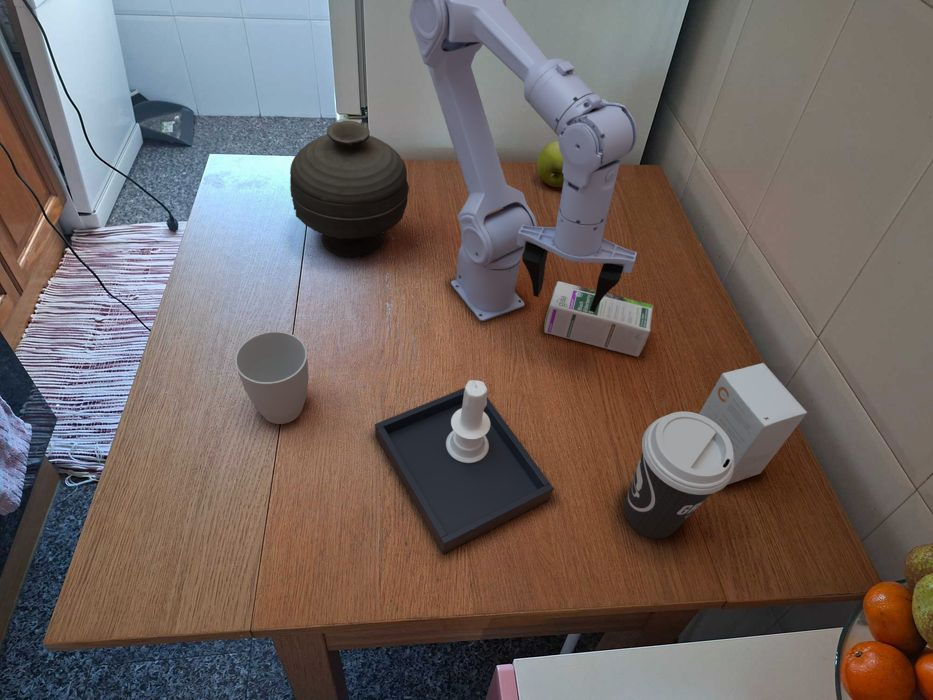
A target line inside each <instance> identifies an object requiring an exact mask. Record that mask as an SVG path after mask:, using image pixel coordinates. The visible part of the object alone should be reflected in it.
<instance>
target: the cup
mask: <svg viewBox="0 0 933 700" xmlns="http://www.w3.org/2000/svg"><path fill="white" fill-rule="evenodd" d="M234 364H235V368H236V371H237V373H238V377H239V379H240V382H241V384H242V386H243V389H244V392H245V394H247V396H248V398H249V400H250V401H251V403H252V405H253V406H254V408H255V409H256V411H258V413H259V414H260V415H261V416H263V418H264V419H265V420H266V421H268V422H269V423H272V424H275V425H284V424H288V423H291V422H293V421H295V420H296V419H297V418H298V417H299V416H300V415H301V413H302V411H303V409H304V406H305V403H306V400H307V395H308V387H309V386H308V384H309V363H308V351H307V347H306V345H305V343H304V342H303V341H302V340H301V338H299V337H298V336H296V335H294V334H292V333H290V332H285V331H280V330H279V331H278V330H272V331H265V332H261V333H258V334H255V335H253V336H251V337H249V338H248V339H246V340H245V341H244V342H243V343H242V344H241V345H240V346H239V348H238V349H237V351H236V354H235V356H234Z"/></svg>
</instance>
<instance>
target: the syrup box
mask: <svg viewBox="0 0 933 700" xmlns="http://www.w3.org/2000/svg"><path fill="white" fill-rule="evenodd" d="M595 293H596V289H592V288H588V287H585V286H580V285H576V284H572V283H567V282H564V281H560V280H558V281H557V282H556V284H555V285H554V289H553V291H552V294H551V299H550V302H549V304H548V308H547V312H546V315H545V319H544V325H543V332H544V333H545V334H549V335H551V336H555V337H559V338H564V339H568V340H571V341H575V342H579V343H582V344H587V345H590V346H594V347H599V348H602V349H606V350H610V351H613V352H618V353H620V354H621V353H622V354H625V355H629V356H632V357H639V356H640V355H641V353H642V351H643V349H644V347H645V345H646V342H647V341H648V338H649V335H650V333H651V325H652V317H653V310H654V305H653V304H652V303H649V302H648V303H647V302H644V301H639V300H636V299H631V298H627V297H623V296H621V295H615V294H612V293H609V292H607V293H606V295H605V296H604V297H603V298H602V300H601V301H600V303H599V304H598V306H597V308H596V311H595V312H592V311H590V308H591V304H592V302H593V299H594V296H595Z"/></svg>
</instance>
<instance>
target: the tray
mask: <svg viewBox="0 0 933 700" xmlns="http://www.w3.org/2000/svg"><path fill="white" fill-rule="evenodd" d="M464 391H465V387H464V388H463V387H462V388H460V389H458V390H456V391H453V392H450V393H448V394H446V395H444V396H441V397H439V398H436V399H434V400H431V401H429V402H426V403H424V404H421V405H418V406H416V407H414V408H410V409H409V410H406V411H404V412H401V413H399V414H396V415H394V416H392V417H389V418H387V419H383V420H381V421H378V422H377V423H374V435H375V438H376V441H377V442H378V443H379V445H380V447H381V449H382V450H383V452H384V454H385V455H386V457H387V459H388V461H389V462H390V464H391V466H392V467H393V470H394V471H395V473H396V475H397V477H398V478H399V480H400V482H401V484H402V485H403V487H404V489H405V491H406V492H407V494H408V496H409V497H410V499H411V501H412V503H413V505H414V506H415V508H416V510H417V512H418V513H419V515H420V517H421V518H422V520H423V522H424V524H425V526H426V527H427V529H428V530H429V532H430V535H431V536H432V537H433V539H434V541H435V543H436V545H437V546H438V548H439V550H440V551H441V554H442V555H444V554H446V553H448V552H449V551H452V550H454V549H455V548H458V547H460V546H461V545H464V544H466V543H467V542H469V541H471V540H474V539H475V538H477V537H479V536H481V535H483V534H485V533H487V532H489V531H491V530H493V529H495V528H497V527H499V526H501V525H502V524H504V523H507V522H508V521H510V520H512V519H514V518H517V517H518V516H520V515H522V514H524V513H526V512H529V511H530V510H532V509H534V508H536V507H537V506H539V505H543V504H544V503H546V502H547V501H549V500H551V497H552V494H553V491H554V486H553V485H552V484H551V483H550V481H549V479H547V477H546V476H545V474H544V473H543V472H542V470H541V469H540V467H539V466H538V464H537V463H536V462H535V460H534V459H533V458H532V456H531V455H530V454H529V452H528V451H527V450H526V448H525V447H524V446H523V444H522V443H521V441H520V440H519V439H518V437H517V436H516V435H515V433H514V432H513V430H512V428H510V426H509V424H507V422H506V421H505V420H504V418H503V417H502V415H501V414H500V413H499V411H498V410H497V409H496V408H495V406H494V404H493V403H492V402H491V401H490V399H489V398H488V397H487V405H486V407H485V408H484V412H485V413H486V414H487V416H488V417H489V419H490V429H489V431H488V432H487V434H486V435H485V436H486V437H487V439H488V443H489V449H488V452H487V454H486V455H485V457H484V458H482V459H481V460H479V461H477V462H474V463H463V462H460V461H458V460H456V459H454V458H453V457H452V456H451V455H450V454H449V452H448V451H447V448H446V440H447V437H448V435H449V434H450V433H451V432H452V431H453V428H452V426H451V419H452V416H453V414H454V413H455V412H456V411H457V410H459V409H461V408H462V404H463V397H464Z"/></svg>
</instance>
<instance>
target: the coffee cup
mask: <svg viewBox="0 0 933 700" xmlns="http://www.w3.org/2000/svg"><path fill="white" fill-rule="evenodd" d="M641 451H642V452H641V454H640V457H639V461H638V463H637V466H636V468H635V472H634V474H633V477H632V480H631V483H630V486H629V488H628V491H627V494H626V497H625V500H624V504H623V512H624V517H625V520H626V521H627V523H628V524H629V525H630V527H631V528H632V529H633V530H634V531H635V532H636V533H638V534H640V535H641V536H643V537H646V538H648V539H652V540H661V539H666V538H668V537H671V536H672V535H673V534H674V533H675V532H676V531H677V530H678V528H679V527H681V526H682V525H683V524H684V523H685V521H687V519H689V517H690V516H691V515H692V514H693V513H694V512H695V511H696V510H697V509H698V508H699V507H700V506H701V505H702V504H703V503H704V502H705V501H706V500H707V499H708V498H709V497H710V496H711V495H712V494H714V493H717V492H720V491H722V490H723V489H724V488H726V487H727V484H728V483H729V481H730V480H731V478H732V475H733V471H734V454H733V447H732V444H731V441H730V439H729V437H728V436H727V434H726V433H725V432H724V430H723V429H722V428H721V427H720V426H719V425H717V424H716V423H715V422H713V421H712V420H710V419H709V418H707V417H705V416H702V415H700V414H699V413H696V412H692V411H676V412H672V413H668V414H667V415H663V416H661V417H660V418H658V419H656V420H654V421H653V422H652V423H651V424H650V425H648V427H646V428H645V431H644V432H643V435H642V439H641ZM728 485H729V484H728Z"/></svg>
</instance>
